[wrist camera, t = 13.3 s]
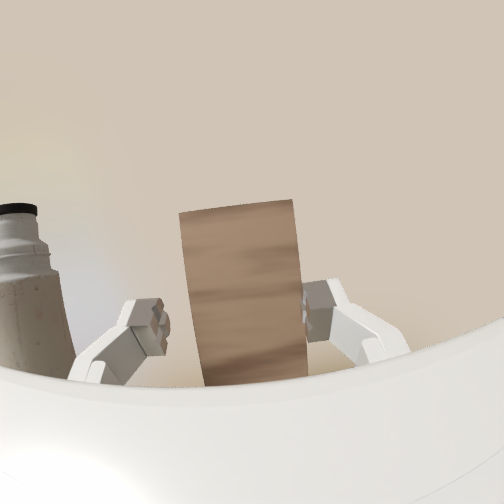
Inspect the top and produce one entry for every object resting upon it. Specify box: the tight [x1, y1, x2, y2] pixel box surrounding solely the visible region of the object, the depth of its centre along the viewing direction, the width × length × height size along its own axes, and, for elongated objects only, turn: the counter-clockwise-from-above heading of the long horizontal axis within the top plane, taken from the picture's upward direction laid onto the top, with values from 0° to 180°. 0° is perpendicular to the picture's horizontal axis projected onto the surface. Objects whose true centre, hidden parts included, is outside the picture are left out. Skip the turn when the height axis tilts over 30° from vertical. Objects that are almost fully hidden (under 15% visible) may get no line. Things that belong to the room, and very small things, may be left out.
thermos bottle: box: [0, 203, 76, 379], centre depth 16 cm, size 8×8×28 cm
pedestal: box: [179, 199, 308, 387], centre depth 27 cm, size 6×10×26 cm, turn 90°
